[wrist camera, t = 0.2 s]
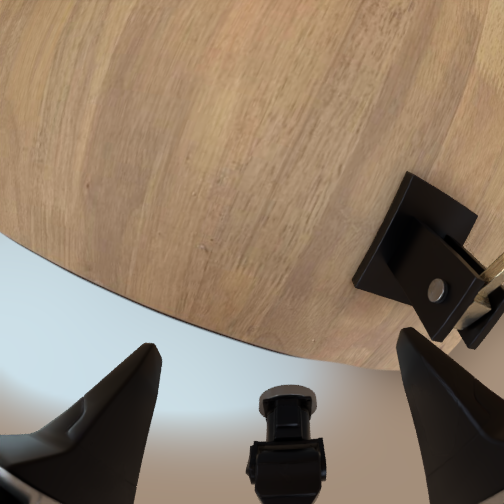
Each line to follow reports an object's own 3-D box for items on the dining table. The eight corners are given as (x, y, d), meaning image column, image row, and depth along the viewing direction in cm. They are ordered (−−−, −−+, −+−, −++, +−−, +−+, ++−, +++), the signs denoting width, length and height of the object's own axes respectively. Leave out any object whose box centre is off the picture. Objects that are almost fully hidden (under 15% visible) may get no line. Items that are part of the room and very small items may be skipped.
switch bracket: (406, 170, 18) (487, 219, 10) (470, 211, 19) (542, 267, 10) (351, 279, 23) (385, 370, 14) (418, 301, 24) (460, 379, 15)
